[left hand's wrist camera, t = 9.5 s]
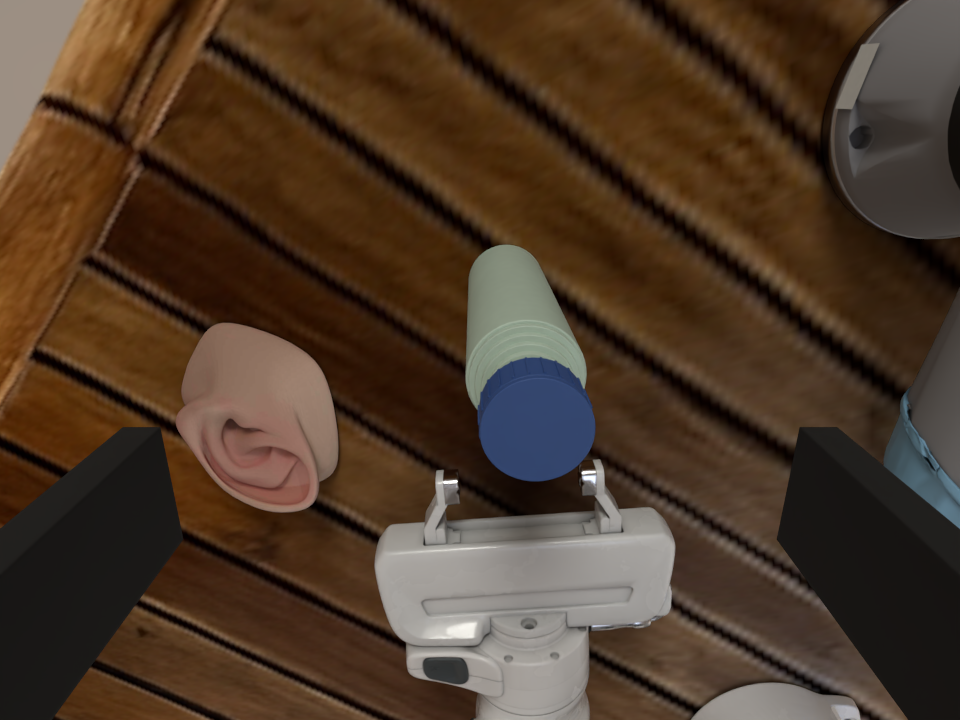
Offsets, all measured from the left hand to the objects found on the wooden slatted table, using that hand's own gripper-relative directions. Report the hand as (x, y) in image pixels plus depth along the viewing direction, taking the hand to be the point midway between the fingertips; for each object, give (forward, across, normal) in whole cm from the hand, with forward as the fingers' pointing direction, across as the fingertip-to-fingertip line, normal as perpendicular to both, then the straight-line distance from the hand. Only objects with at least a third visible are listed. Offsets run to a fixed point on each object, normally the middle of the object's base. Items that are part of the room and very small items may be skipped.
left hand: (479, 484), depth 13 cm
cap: (+8, -2, +3) cm, 9 cm away
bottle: (+30, -2, +3) cm, 31 cm away
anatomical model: (+30, +16, +12) cm, 37 cm away
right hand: (+24, -2, +14) cm, 28 cm away
